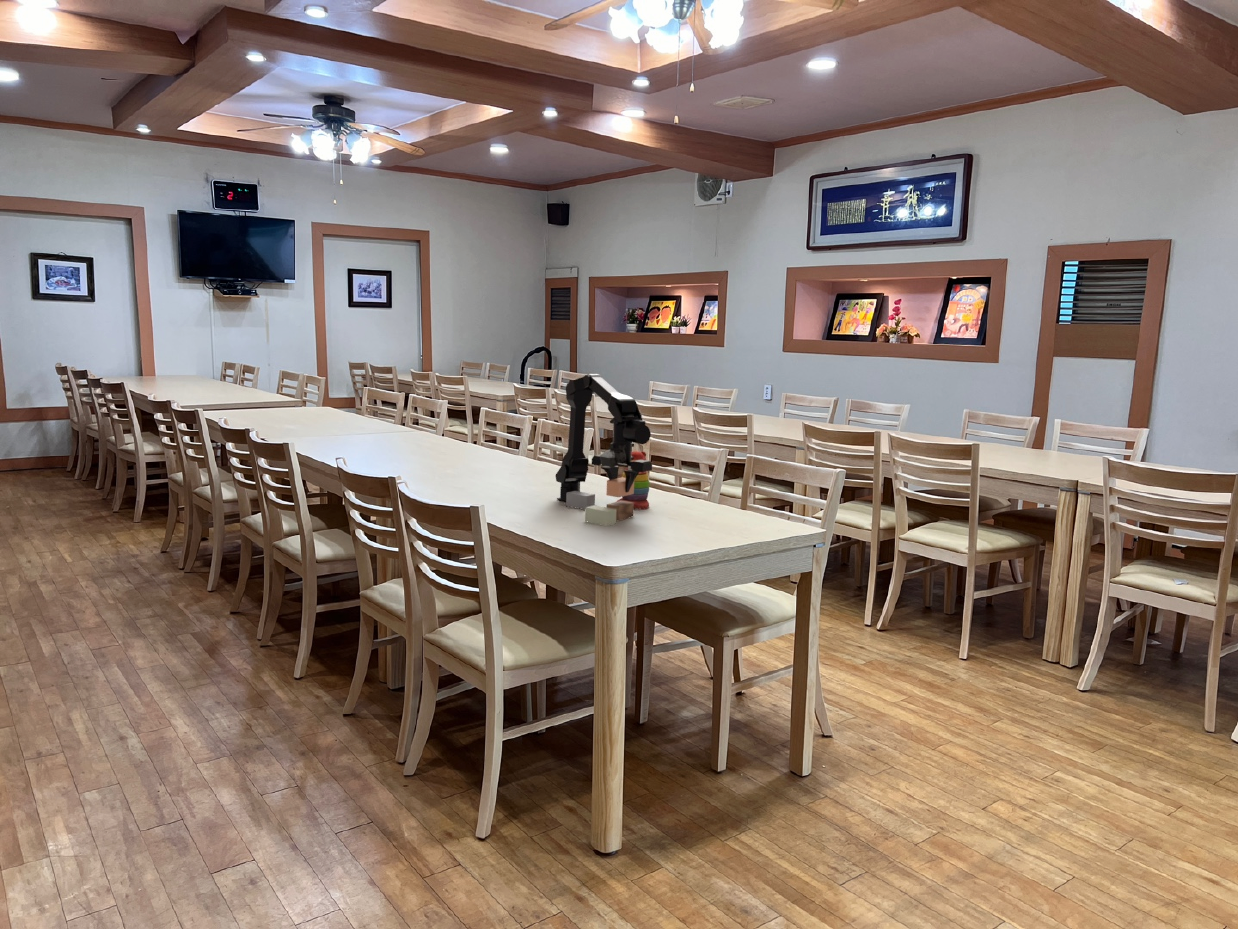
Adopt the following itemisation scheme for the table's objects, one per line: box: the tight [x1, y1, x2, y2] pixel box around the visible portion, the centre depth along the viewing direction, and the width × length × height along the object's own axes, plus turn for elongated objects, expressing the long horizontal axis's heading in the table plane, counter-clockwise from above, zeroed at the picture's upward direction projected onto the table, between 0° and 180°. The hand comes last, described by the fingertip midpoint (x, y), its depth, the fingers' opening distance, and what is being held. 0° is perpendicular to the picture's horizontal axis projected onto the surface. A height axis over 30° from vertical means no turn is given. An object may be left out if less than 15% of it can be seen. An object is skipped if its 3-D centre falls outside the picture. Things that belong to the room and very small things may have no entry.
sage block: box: [584, 504, 617, 527], centre depth 257 cm, size 8×4×4 cm, turn 55°
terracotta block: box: [605, 476, 634, 498], centre depth 264 cm, size 8×4×4 cm, turn 145°
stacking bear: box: [615, 451, 650, 510], centre depth 283 cm, size 11×10×18 cm
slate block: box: [565, 491, 596, 510], centre depth 278 cm, size 8×4×4 cm, turn 55°
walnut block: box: [606, 500, 635, 521], centre depth 265 cm, size 8×4×4 cm, turn 145°
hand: (620, 491), depth 264 cm, fingers closed on terracotta block, 4 cm apart
